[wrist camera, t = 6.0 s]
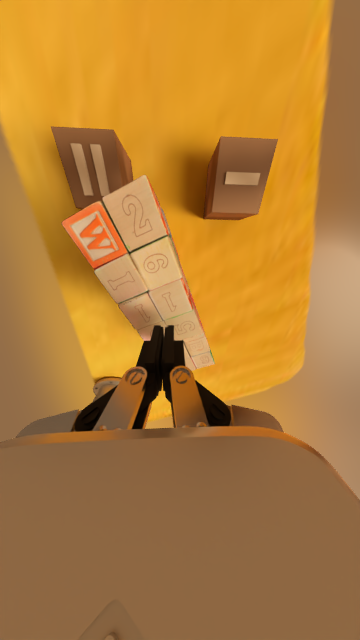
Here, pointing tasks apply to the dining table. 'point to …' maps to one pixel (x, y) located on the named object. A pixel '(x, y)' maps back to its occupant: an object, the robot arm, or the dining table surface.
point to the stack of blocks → (140, 265)
